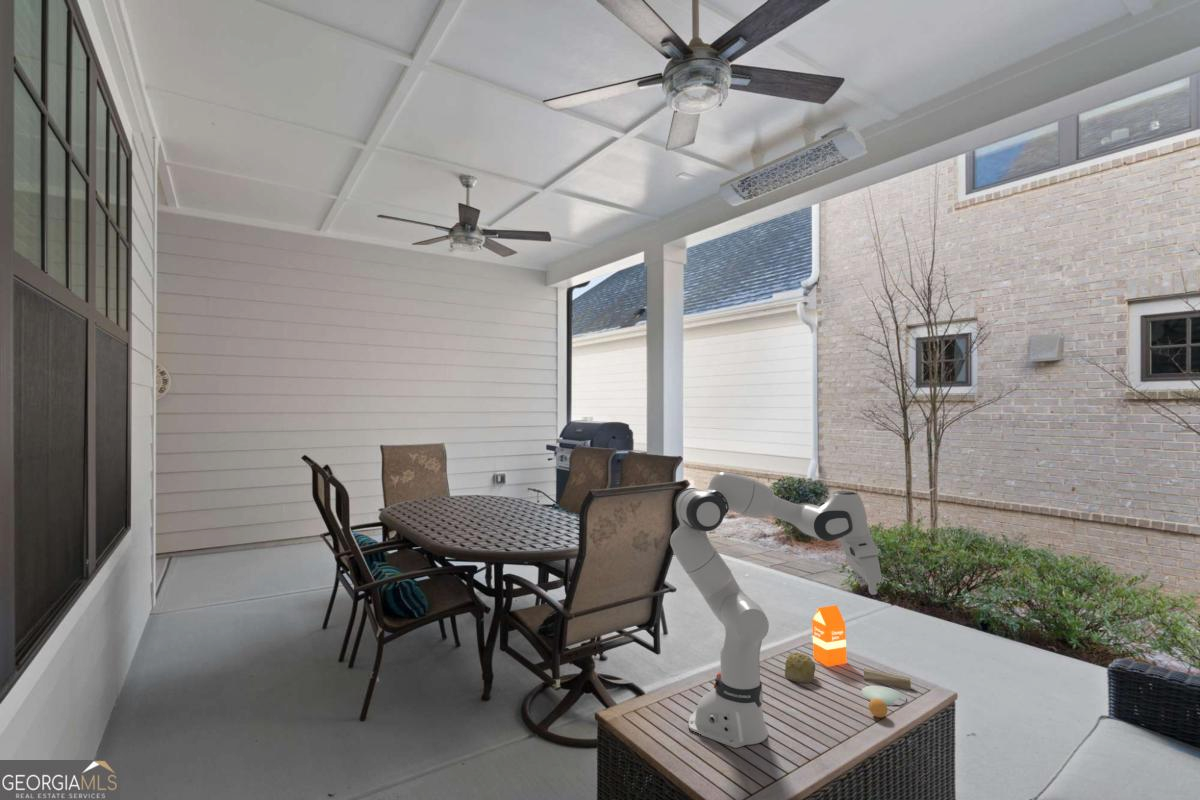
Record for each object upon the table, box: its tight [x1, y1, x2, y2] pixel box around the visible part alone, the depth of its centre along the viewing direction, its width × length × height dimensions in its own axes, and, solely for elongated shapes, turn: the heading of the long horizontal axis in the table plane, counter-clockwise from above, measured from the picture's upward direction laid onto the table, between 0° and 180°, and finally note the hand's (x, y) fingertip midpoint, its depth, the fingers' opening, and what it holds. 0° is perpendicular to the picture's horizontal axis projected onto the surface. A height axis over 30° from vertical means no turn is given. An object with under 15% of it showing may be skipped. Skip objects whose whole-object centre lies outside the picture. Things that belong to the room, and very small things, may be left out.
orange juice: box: [811, 605, 848, 667], centre depth 201 cm, size 8×9×20 cm
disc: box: [861, 685, 907, 707], centre depth 174 cm, size 13×13×1 cm
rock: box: [784, 652, 816, 684], centre depth 188 cm, size 10×11×10 cm
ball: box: [868, 699, 888, 718], centre depth 161 cm, size 5×5×5 cm
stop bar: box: [863, 668, 912, 690], centre depth 182 cm, size 2×14×3 cm, turn 57°
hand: (867, 588), depth 161 cm, fingers open, 8 cm apart
